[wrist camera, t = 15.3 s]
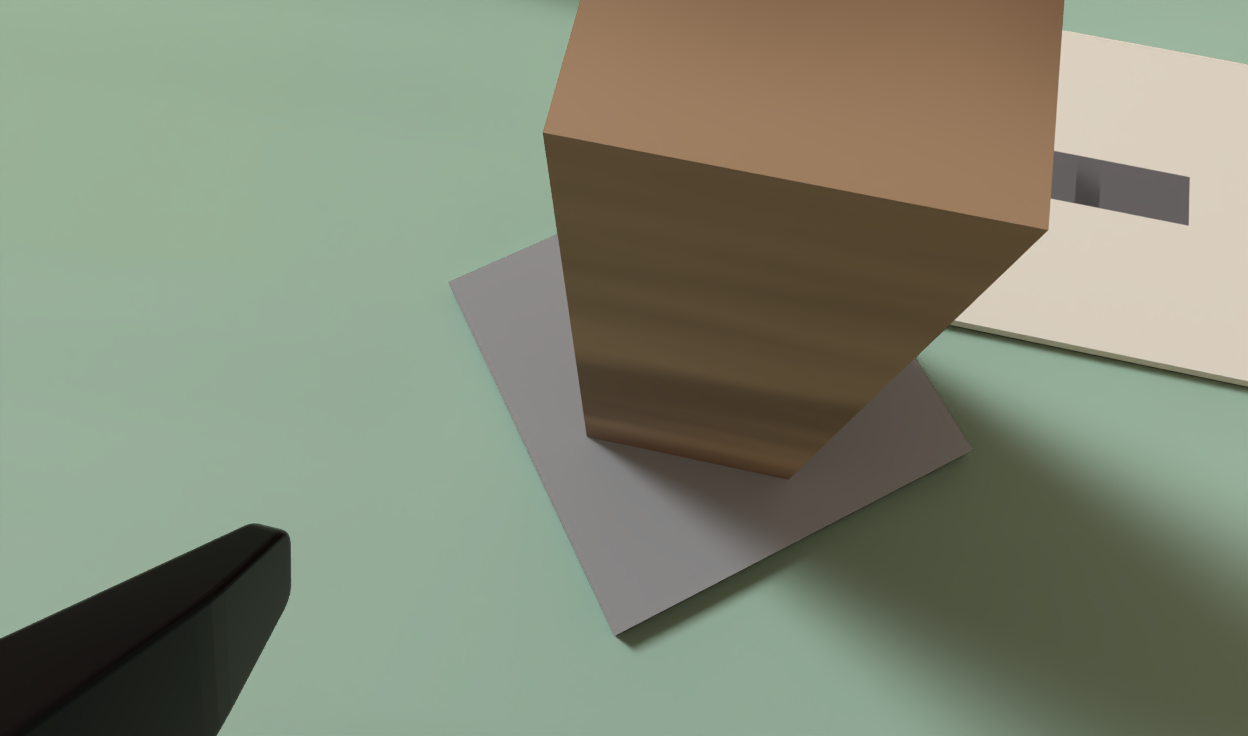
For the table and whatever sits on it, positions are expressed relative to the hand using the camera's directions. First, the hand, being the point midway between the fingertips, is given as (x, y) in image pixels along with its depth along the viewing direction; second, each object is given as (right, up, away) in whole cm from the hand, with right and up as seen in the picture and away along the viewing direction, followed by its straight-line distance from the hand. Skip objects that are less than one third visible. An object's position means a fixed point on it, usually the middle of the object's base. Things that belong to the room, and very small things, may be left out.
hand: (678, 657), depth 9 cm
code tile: (+11, +8, +13) cm, 18 cm away
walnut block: (+1, +3, +11) cm, 11 cm away
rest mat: (+1, +3, +11) cm, 11 cm away
